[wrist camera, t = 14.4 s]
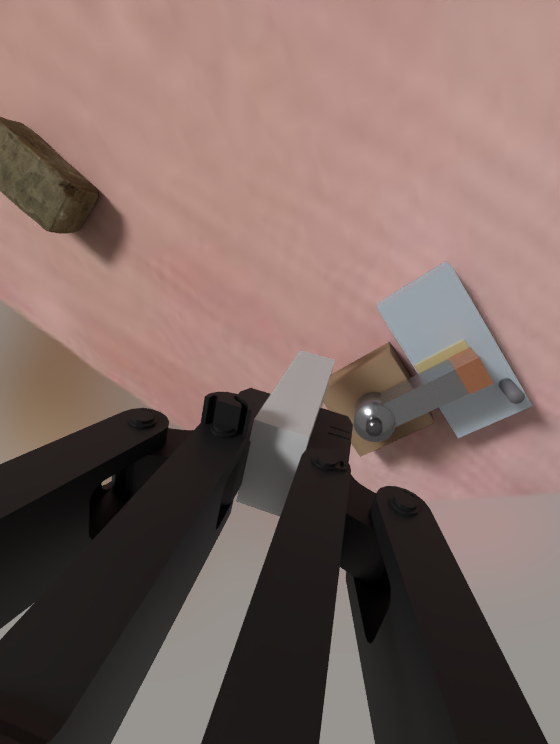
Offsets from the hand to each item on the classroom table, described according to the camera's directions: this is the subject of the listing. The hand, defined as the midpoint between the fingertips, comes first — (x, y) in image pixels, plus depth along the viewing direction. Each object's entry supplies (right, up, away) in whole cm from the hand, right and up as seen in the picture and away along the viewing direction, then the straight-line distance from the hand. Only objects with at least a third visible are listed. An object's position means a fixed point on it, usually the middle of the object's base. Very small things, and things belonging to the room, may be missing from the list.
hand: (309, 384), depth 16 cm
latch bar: (+11, -1, +20) cm, 23 cm away
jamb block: (+9, -2, +25) cm, 27 cm away
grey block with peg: (+15, +3, +22) cm, 27 cm away
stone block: (-26, +21, +26) cm, 42 cm away
